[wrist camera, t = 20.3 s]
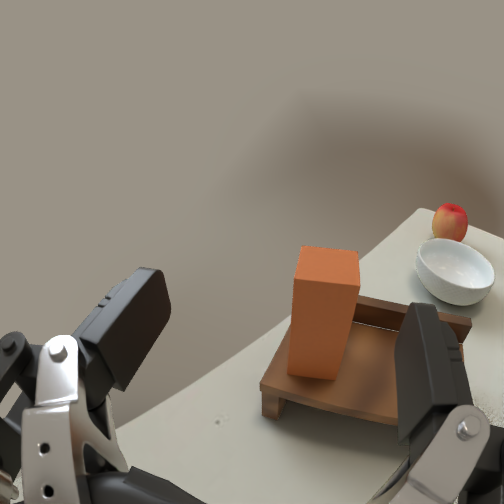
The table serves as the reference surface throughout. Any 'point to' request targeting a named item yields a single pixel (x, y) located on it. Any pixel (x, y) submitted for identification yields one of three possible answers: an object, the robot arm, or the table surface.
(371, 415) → the shelf
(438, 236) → the apple
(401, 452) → the table surface
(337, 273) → the carton
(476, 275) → the cereal bowl
